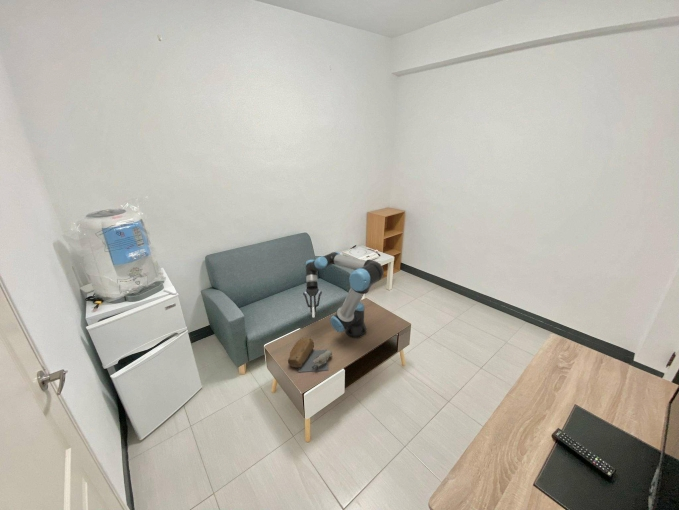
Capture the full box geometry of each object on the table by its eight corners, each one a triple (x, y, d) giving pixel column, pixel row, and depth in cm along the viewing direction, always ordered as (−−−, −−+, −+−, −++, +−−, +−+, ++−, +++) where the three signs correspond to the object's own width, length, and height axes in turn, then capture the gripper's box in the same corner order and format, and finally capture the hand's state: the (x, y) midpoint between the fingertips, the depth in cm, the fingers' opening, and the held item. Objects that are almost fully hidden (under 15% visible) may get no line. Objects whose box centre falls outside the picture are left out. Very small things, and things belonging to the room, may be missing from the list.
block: (312, 336, 176) (297, 360, 159) (316, 345, 178) (301, 369, 162) (298, 336, 180) (282, 358, 164) (302, 345, 183) (287, 368, 166)
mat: (327, 350, 178) (327, 349, 178) (328, 370, 163) (328, 369, 163) (299, 352, 177) (299, 351, 177) (298, 372, 162) (298, 372, 161)
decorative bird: (334, 357, 171) (334, 348, 168) (317, 373, 160) (316, 363, 157) (328, 353, 175) (327, 344, 172) (310, 369, 163) (309, 359, 160)
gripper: (321, 283, 189) (323, 317, 180) (302, 284, 187) (303, 319, 179) (321, 280, 182) (323, 315, 173) (301, 281, 180) (303, 317, 172)
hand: (313, 317), depth 176 cm, fingers closed
